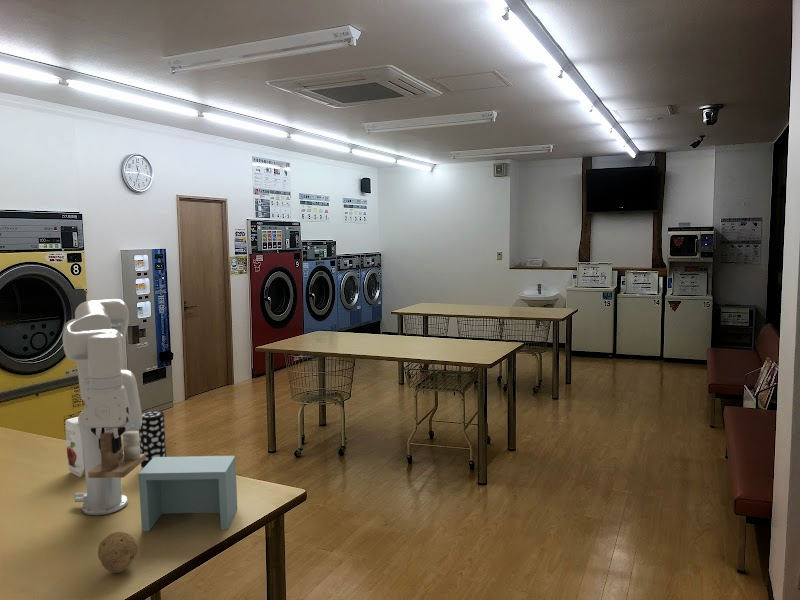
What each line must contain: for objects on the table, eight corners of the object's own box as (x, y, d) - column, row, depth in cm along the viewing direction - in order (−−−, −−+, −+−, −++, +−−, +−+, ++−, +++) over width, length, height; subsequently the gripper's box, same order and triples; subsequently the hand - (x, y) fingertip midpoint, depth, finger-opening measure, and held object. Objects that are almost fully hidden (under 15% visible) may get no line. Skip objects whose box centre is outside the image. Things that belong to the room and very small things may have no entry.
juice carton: (87, 465, 223) (83, 414, 221) (100, 471, 218) (96, 418, 216) (66, 472, 217) (62, 419, 215) (78, 478, 212) (74, 424, 210)
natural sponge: (117, 558, 162) (115, 522, 161) (146, 563, 159) (144, 526, 158) (91, 577, 153) (88, 539, 152) (121, 583, 151) (118, 544, 150)
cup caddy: (88, 477, 160) (86, 435, 159) (113, 459, 174) (111, 420, 173) (123, 477, 160) (121, 435, 159) (145, 459, 174) (143, 420, 173)
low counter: (141, 531, 176) (138, 473, 174) (156, 511, 188) (153, 457, 186) (227, 529, 177) (225, 471, 175) (237, 509, 189) (235, 455, 187)
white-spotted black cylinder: (158, 475, 215) (154, 418, 212) (136, 473, 216) (132, 417, 214) (171, 465, 223) (168, 411, 220) (150, 464, 224) (147, 410, 222)
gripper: (66, 386, 157) (72, 457, 159) (131, 385, 157) (135, 456, 159) (81, 379, 164) (86, 447, 166) (143, 378, 164) (147, 446, 166)
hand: (110, 451), depth 163 cm, fingers closed on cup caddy, 2 cm apart
